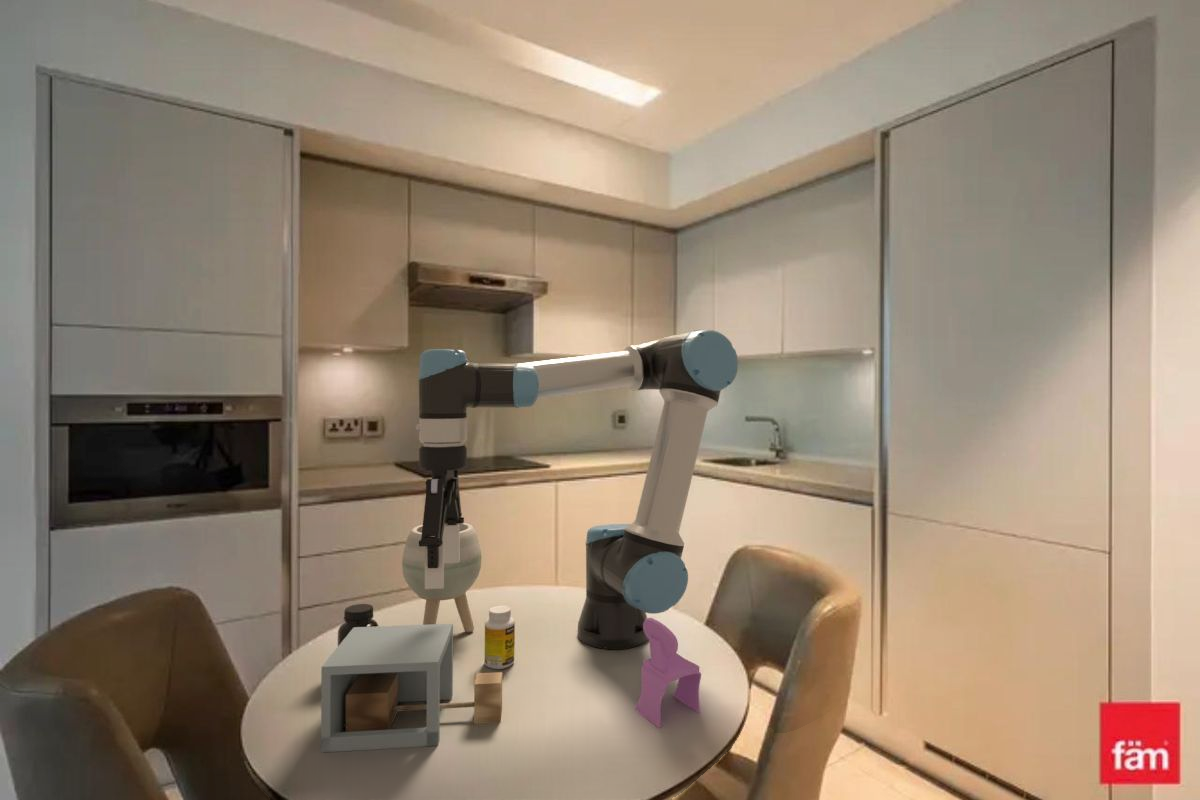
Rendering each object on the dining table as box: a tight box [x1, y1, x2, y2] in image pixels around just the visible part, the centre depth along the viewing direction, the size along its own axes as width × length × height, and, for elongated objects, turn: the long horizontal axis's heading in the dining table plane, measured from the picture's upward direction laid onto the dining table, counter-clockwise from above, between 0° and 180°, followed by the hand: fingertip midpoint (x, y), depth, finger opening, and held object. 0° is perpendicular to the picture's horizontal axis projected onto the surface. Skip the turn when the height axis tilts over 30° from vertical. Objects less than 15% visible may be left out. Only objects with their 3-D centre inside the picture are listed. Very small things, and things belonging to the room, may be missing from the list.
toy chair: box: [634, 617, 702, 729], centre depth 92 cm, size 8×9×15 cm
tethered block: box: [345, 671, 503, 732], centre depth 89 cm, size 22×6×6 cm, turn 96°
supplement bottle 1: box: [336, 603, 379, 648], centre depth 103 cm, size 7×7×12 cm
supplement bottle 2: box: [484, 605, 516, 670], centre depth 108 cm, size 6×6×10 cm
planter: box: [401, 522, 482, 633], centre depth 121 cm, size 16×16×22 cm
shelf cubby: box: [320, 623, 454, 753], centre depth 88 cm, size 16×14×12 cm
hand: (443, 574), depth 94 cm, fingers open, 13 cm apart
